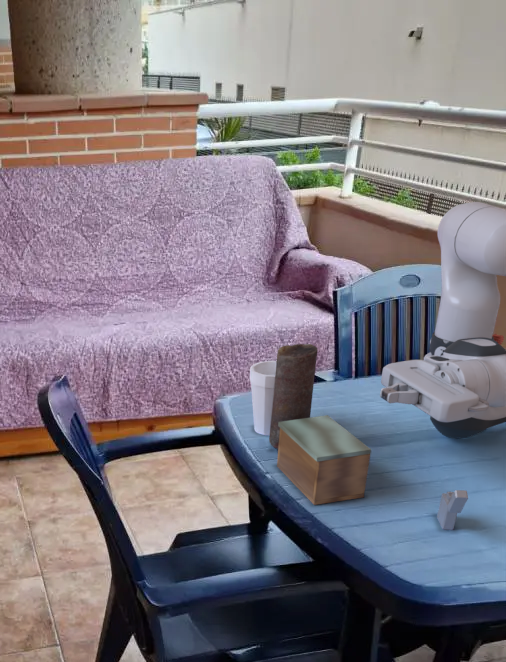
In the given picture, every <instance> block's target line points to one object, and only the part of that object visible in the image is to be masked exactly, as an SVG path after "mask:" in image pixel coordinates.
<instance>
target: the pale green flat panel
mask: <svg viewBox="0 0 506 662" xmlns="http://www.w3.org/2000/svg"><path fill="white" fill-rule="evenodd" d="M278 426H279V427H280V428H281V429H282V430H283V431H284V432H285V433H286V434H287V435H289V436H290V437H291V438H292V439H293V440H294V441H295V442H296V443H297V444H298V445H299V446H300V447H302V448H303V449H304V450H305V451H306V452H307V453H308V454H309V455H310V456H311V457H312V458H313V459H315V460H316V461H317V462H319V461H325V460H332V459H339V458H345V457H352V456H359V455H365V454H370V455H371V454H372V449H371V448H370V447H369V446H368V445H366V444H365V443H364V442H362V441H361V440H360V439H359V438H357V437H356V436H355V435H354V434H352V433H351V432H350V431H348V429H346V428H345V427H344V426H342V425H341V424H340V423H338V422H337V421H336V420H334V418H332V417H331V416H330V415H328V414H326V415H325V414H324V415H319V416H310V418H304V419H296V420H289V421H282V422H278Z"/></svg>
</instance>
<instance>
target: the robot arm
mask: <svg viewBox="0 0 506 662" xmlns="http://www.w3.org/2000/svg"><path fill="white" fill-rule="evenodd" d="M436 233H437V240H438V243H439V248H440V266H441V267H440V274H441V275H440V276H441V287H440V289H441V290H440V291H441V292H440V300H439V306H438V312H437V316H436V317H437V318H436V323H435V328H434V329H435V330H434V332H432V334H431V338H430V340H429V348H428V351H429V352H427V354H425V355H424V357H423V359H409V360H404V361H397V362H391V363H388V364H386V365H385V366H383V368H382V372H381V377H380V384H381V386H383V387H382V388H381V389H380V393H379V397H380V398H381V399H382V400H384V401H386V402H387V403H388V404H396V403H397V404H404V405H413V406H414V407H416V408H417V409H419V410H420V411H422V412H423V413H425V414H427V416H429V420H430V421H431V423H432V425H433V426H434V428H435V429H436V430H437V431H438V432H439V433H440V434H441V435H442V436H444V437H447V438H452V439H466V438H471V437H474V436H477V435H479V434H480V433H482V432H484V431H486V430H488V429H490V428H492V427H496V426H498V425H501V424H504V423H506V349H505V347H503V346H502V344H503V342H504V339H505V337H504V335H502V334H497V333H494V331H495V326H496V323H497V318H498V313H499V309H500V306H501V305H500V304H501V293H500V291H499V290H500V289H499V286H498V277H497V276H500V277H506V209H505V208H502V207H498V206H495V205H492V204H489V203H485V202H482V201H471V202H465V203H460V204H457V205H455V206H452V208H450V209H449V210H448V211H447V212H446V213H445V214H444V215H443V216H442V218H441V219H440V221H439V223H438V227H437V232H436Z"/></svg>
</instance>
